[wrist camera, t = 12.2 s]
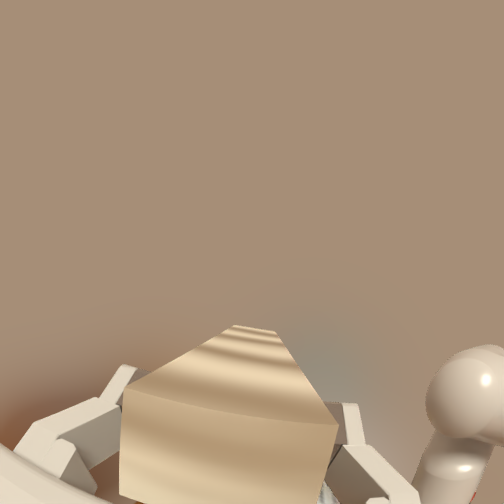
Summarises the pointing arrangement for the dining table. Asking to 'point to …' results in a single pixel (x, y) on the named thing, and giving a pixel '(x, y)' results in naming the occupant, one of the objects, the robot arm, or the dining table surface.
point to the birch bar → (226, 427)
